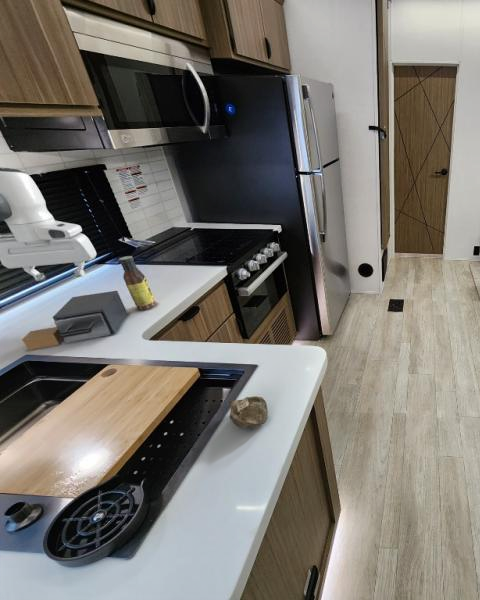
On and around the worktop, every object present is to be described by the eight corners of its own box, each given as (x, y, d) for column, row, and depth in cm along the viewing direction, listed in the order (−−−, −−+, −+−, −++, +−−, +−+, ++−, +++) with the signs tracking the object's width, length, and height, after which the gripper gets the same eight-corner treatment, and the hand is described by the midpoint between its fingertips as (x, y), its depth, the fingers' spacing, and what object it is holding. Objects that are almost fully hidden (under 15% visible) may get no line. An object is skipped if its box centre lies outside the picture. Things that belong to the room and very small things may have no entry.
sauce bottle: (160, 305, 127) (140, 256, 118) (142, 312, 123) (120, 262, 113) (151, 301, 130) (131, 253, 121) (133, 308, 126) (111, 258, 116)
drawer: (105, 342, 104) (94, 321, 100) (59, 351, 100) (45, 329, 96) (122, 315, 119) (113, 296, 115) (83, 322, 115) (72, 302, 111)
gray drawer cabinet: (115, 334, 110) (102, 309, 105) (67, 342, 106) (52, 317, 101) (127, 313, 122) (117, 290, 117) (85, 320, 117) (72, 297, 113)
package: (28, 350, 102) (21, 339, 100) (36, 341, 106) (30, 331, 104) (59, 344, 105) (53, 334, 103) (66, 336, 109) (60, 326, 107)
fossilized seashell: (224, 404, 78) (228, 439, 71) (234, 383, 76) (240, 418, 69) (255, 404, 83) (262, 437, 76) (266, 385, 81) (274, 417, 74)
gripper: (-22, 238, 84) (8, 287, 90) (75, 231, 89) (97, 277, 95) (-4, 231, 89) (24, 278, 96) (87, 225, 94) (107, 269, 101)
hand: (61, 277), depth 96 cm, fingers open, 8 cm apart
